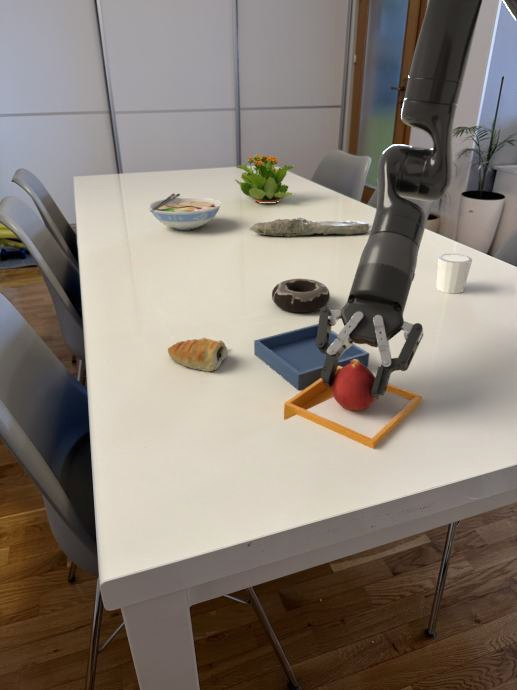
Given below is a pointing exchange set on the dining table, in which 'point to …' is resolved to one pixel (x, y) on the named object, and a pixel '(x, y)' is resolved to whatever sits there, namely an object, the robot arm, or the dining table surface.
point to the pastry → (199, 353)
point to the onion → (353, 386)
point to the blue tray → (301, 355)
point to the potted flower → (264, 180)
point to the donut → (300, 295)
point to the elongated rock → (309, 227)
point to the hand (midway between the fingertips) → (350, 390)
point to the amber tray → (322, 393)
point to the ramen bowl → (185, 211)
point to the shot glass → (452, 272)
